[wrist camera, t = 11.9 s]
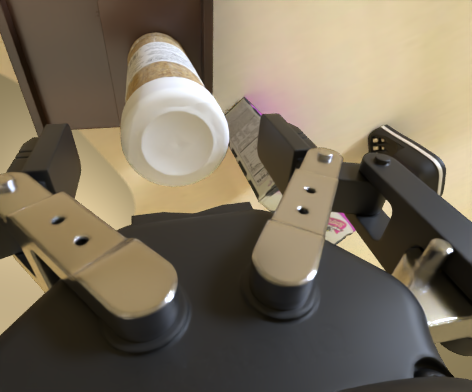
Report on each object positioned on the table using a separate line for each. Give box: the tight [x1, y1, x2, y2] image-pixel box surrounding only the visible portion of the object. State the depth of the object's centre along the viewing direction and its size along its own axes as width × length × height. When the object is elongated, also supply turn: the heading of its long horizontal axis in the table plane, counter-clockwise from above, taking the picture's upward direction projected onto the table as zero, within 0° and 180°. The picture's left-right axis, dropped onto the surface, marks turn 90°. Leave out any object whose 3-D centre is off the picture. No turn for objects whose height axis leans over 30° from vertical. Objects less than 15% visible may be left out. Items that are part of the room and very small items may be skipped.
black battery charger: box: [368, 125, 446, 196], centre depth 41 cm, size 7×4×11 cm, turn 21°
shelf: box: [0, 0, 213, 137], centre depth 25 cm, size 14×15×10 cm
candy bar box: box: [225, 97, 355, 245], centre depth 33 cm, size 11×5×16 cm, turn 42°
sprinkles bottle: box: [121, 32, 229, 187], centre depth 18 cm, size 5×5×14 cm
